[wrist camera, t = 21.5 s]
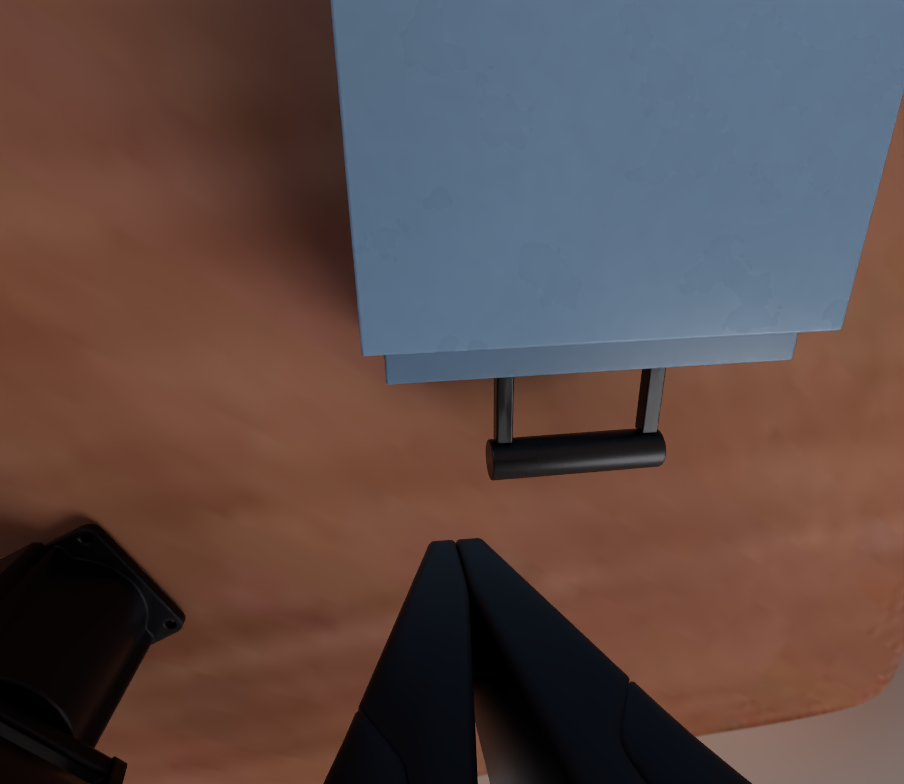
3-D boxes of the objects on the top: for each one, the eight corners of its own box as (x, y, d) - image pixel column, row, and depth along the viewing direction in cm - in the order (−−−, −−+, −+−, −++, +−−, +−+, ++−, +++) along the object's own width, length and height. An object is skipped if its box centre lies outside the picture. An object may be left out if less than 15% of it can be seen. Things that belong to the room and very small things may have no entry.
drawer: (696, 428, 22) (765, 477, 18) (393, 450, 21) (395, 509, 17) (795, -166, 15) (946, -305, 11) (348, -196, 14) (332, -370, 10)
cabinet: (716, 297, 21) (842, 331, 15) (369, 313, 19) (361, 357, 14) (807, -246, 15) (1067, -528, 9) (320, -288, 14) (271, -659, 8)
